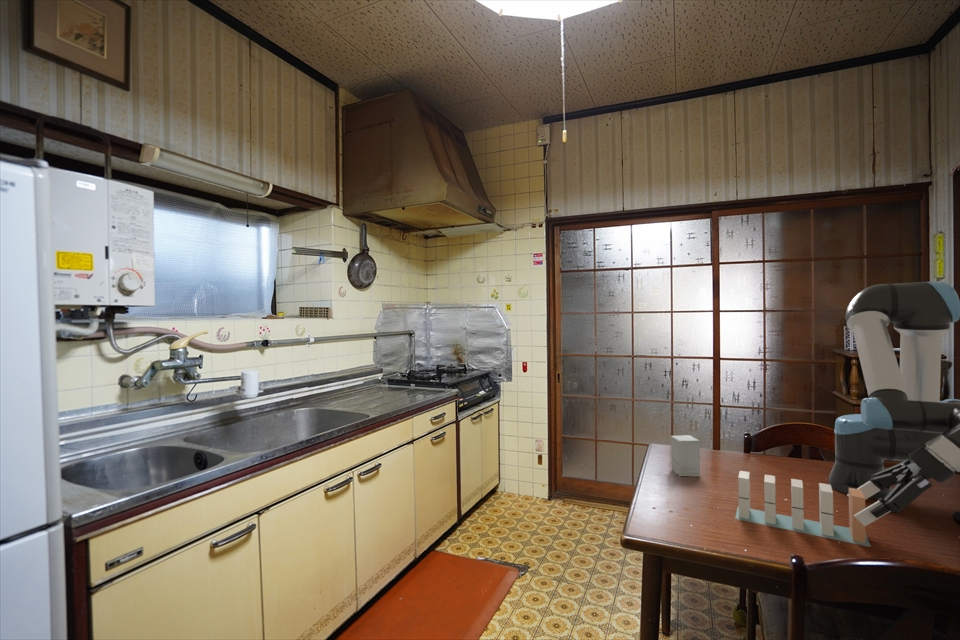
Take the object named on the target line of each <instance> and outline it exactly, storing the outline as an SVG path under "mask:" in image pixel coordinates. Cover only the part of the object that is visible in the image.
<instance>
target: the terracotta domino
mask: <svg viewBox="0 0 960 640" xmlns="http://www.w3.org/2000/svg"><path fill="white" fill-rule="evenodd" d="M865 508H866V500H865V497H864V495H863V493H862V491H861V489H854V488H849V497H848V528H849V531H850V534H851V537H852V540H853V541H856V542H861V543H866V536H867V534H865V533H866V526H864V525H863V524H862V523H861V522H860V521H859V520H857V519H856V518H855V517H854V515H855V514H857V513H858V512H860V511H862V510H863V509H865Z"/></svg>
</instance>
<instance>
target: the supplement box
mask: <svg viewBox="0 0 960 640" xmlns="http://www.w3.org/2000/svg"><path fill="white" fill-rule="evenodd" d="M700 444H701V443H700V440H699V439H697V438H696V437H693V436H692V435H690V434H689V435H686V434H685V435H683V434H682V435H670V461H671V462H670V464H671V467H670V469H671V471H672V470H673V471H672V472H674V473H675V474H676V475H677V474H678V475H677V476H679V477H680V476H691V477H700V476H701V456H700V453H701V450H700V449H701V448H700Z"/></svg>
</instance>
